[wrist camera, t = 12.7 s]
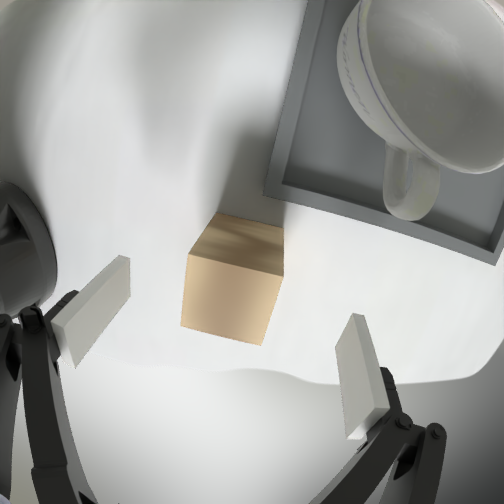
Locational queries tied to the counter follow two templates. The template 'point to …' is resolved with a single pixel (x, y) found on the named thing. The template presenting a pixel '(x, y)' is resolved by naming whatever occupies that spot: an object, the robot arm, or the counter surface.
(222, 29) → the counter surface
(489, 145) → the teacup
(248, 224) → the oak block
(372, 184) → the tray
